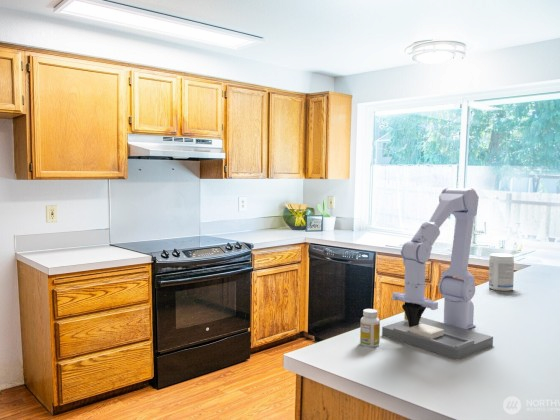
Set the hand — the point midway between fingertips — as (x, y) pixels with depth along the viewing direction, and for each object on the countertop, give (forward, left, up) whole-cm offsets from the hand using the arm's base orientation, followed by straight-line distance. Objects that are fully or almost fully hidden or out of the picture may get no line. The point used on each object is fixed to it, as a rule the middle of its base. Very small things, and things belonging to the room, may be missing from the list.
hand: (413, 328), depth 141 cm
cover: (0, +4, 0) cm, 5 cm away
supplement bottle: (+13, -5, -3) cm, 15 cm away
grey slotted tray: (-5, +4, -3) cm, 7 cm away
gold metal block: (-6, -5, -1) cm, 8 cm away
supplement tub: (-83, -16, -3) cm, 85 cm away
